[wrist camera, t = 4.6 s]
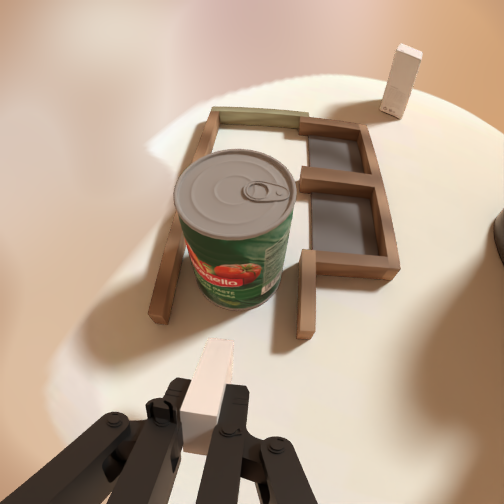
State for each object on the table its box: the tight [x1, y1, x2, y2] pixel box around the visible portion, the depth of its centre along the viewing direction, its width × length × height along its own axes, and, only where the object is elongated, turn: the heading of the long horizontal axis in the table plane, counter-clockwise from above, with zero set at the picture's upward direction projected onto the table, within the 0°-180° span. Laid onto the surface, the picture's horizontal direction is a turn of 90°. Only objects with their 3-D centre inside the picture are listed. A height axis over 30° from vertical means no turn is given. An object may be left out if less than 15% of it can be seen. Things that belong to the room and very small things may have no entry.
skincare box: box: [379, 44, 423, 119], centre depth 41 cm, size 6×4×12 cm
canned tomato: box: [174, 149, 297, 311], centre depth 24 cm, size 8×8×11 cm
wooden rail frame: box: [148, 107, 401, 339], centre depth 33 cm, size 30×22×2 cm
